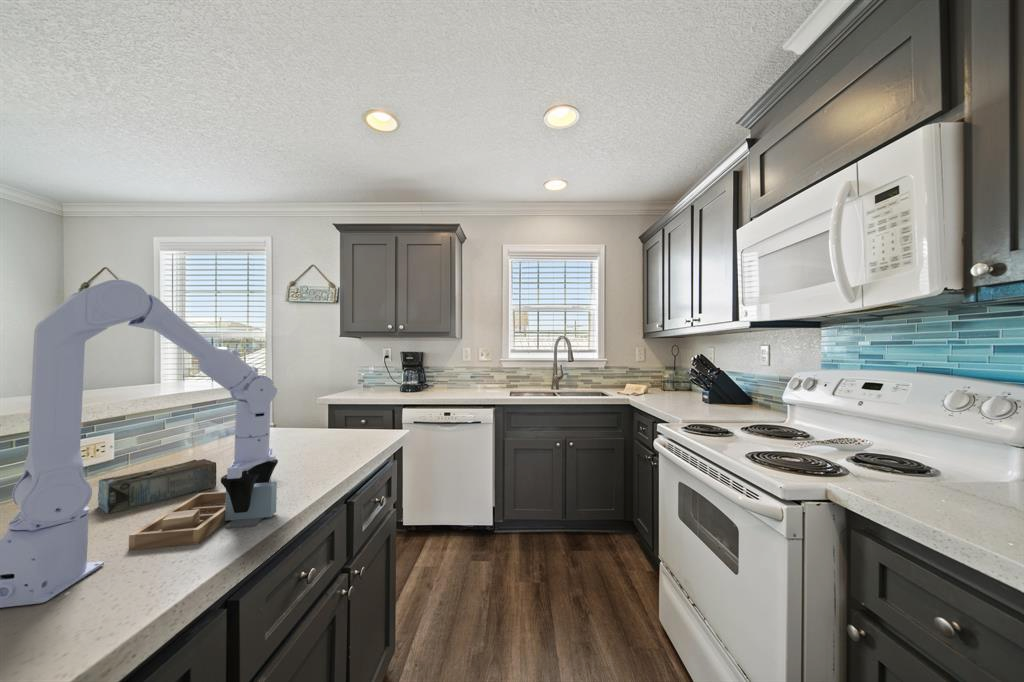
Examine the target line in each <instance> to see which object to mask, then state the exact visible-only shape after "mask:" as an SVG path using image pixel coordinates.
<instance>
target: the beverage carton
mask: <svg viewBox="0 0 1024 682" xmlns="http://www.w3.org/2000/svg"><path fill="white" fill-rule="evenodd" d="M215 487H217V462H216V461H212V460H210V459H209V460H208V459H205V458H203V459H193V460H188V461H186V462H182V463H177V464H174V465H169V466H163V467H158V468H154V469H149V470H144V471H139V472H134V473H130V474H125V475H119V476H112V477H108V478H101V479H99V480H98V491H97V503H98V505H97V507H98V508H99V507H100V509H101V510H102V511H104V513H106V514H108V515H109V514H112V513H116V512H117V513H118V512H121V511H125V510H129V509H134V508H138V507H142V506H146V505H150V504H154V503H157V502H161V501H165V500H170V499H173V498H177V497H181V496H185V495H189V494H192V493H197V492H200V491H206V490H208V489H209V490H210V489H213V488H215Z"/></svg>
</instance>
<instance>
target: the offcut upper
mask: <svg viewBox="0 0 1024 682" xmlns="http://www.w3.org/2000/svg"><path fill="white" fill-rule="evenodd" d="M200 515H201V513H200V509H196V510H188V511H179V512H171V513H170V514H169V515H168V516H166V517H165V518H164V519H163V520H162V531H164V530H176V529H187V528H192V527H193V526H194V525H195V524H196V523H197V522H198V521H199V520H200Z"/></svg>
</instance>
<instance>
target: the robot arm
mask: <svg viewBox="0 0 1024 682" xmlns="http://www.w3.org/2000/svg"><path fill="white" fill-rule="evenodd" d="M127 322H129V323H128V324H127V325H128V327H130V326H131V327H133V328H134V327H136V328H140V329H141V328H142V329H146V330H152V331H155V332H156V333H158V334H160V335H162V337H164V338H166V339H167V340H168V341H170V342H171V343H173V344H174V345H176V346H178V347H179V348H181V350H183V351H185V352H186V353H188V354H189V355H190V356H193V358H195V359H197V361H198V370H199V371H200V372H201V373H203V374H204V375H206V376H207V377H209V378H210V379H211V380H213V381H214V382H215V383H217V384H218V385H220V386H221V387H222V388H224V389H225V390H227V391H228V392H229V393H230V396H231V398H232V399H233V400H236V401H235V406H236V407H235V422H234V423H235V426H234V427H235V429H234V431H235V432H234V455H233V457H234V458H233V459H232V462H231V465H230V466H229V467H227V473H226V474H225V475H223V476H222V477H220V483H221V485H222V486H223V487H224V489H225V491H226V490H227V492H228V494H229V496H230V499H231V503H232V506H233V510H234V513H244V512H247V511H248V510H249V507H250V502H251V495H252V490H253V487H254V484H255V483H268V482H271V481H270V480H271V478H272V475H273V472H274V470H275V468H276V467H277V464H278V461H279V460H278V459H277V458H276V455H275V454H273V448H270V435H271V434H270V433H271V432H270V431H271V402H272V401H273V400H274V399H275V397H276V395H277V392H278V388H276V387H275V386H276V385H275V383H274V381H273V380H272V379H271V378H270V377H269V376H266V375H262V374H261V375H260V374H258V372H259V370H260V369H258V367H256V366H251V365H249V364H248V363H247V362H246V361H245V360H243V359H242V358H241V357H240V356H239V355H241V354H240V352H239V351H237V350H236V349H235V348H234V349H233V348H232V349H229V348H228V347H227V346H221V347H215V345H213V344H211V343H210V342H209V341H208V340H207V339H206V338H205V337H204V336H202V335H201V334H200V333H199V332H198V331H196V330H195V329H194V328H193V327H192V326H190V325H189V324H188V322H186V321H185V320H183V319H182V317H180V316H179V315H178V314H176V313H175V312H174V311H173V310H172V309H171V308H170V307H168V306H167V305H166V303H164V302H163V301H162V300H161V299H159V298H158V297H156V296H155V295H153V294H150V293H148V292H146V290H145V289H144V288H143V287H142V286H140V284H137V283H135V282H133V281H130V280H126V279H117V278H116V279H109V280H106V281H102V282H100V283H98V284H95V285H92V286H89V287H87V288H85V289H83V290H80V291H78V292H74V293H73V294H71V295H69V296H68V297H67V299H65V300H64V301H63V302H62V303H61V304H60V305H58V306H56V308H54V309H53V310H52V311H51V312H50V313H49V314H48V315H46V316H45V317H44V318H42V319H41V320H40V321H39V322H38V323H37V324H36V325H35V328H34V331H33V348H32V349H33V352H32V370H31V371H32V373H31V392H30V393H31V394H30V412H29V413H30V415H29V428H28V429H29V430H28V431H29V434H28V450H27V452H28V453H27V454H26V455H27V456H26V458H25V460H24V468H23V474H22V476H21V477H20V479H18V481H17V483H16V484H15V485H14V487H13V489H12V491H11V493H12V494H11V498H12V501H13V502H14V504H15V505H16V506H17V507H18V508H19V512H18V513H17V514H16V515H15V516H14V518H12V520H10V521H9V523H8V529H7V531H6V533H5V534H4V535H3V536H2V537H1V538H0V609H1V608H10V607H17V606H19V607H20V606H27V605H36V604H37V605H38V604H42V603H45V602H48V601H49V600H51V599H52V598H54V597H56V596H57V595H59V594H60V593H62V592H63V591H65V590H66V589H68V588H70V587H71V586H73V585H75V584H76V583H77V582H79V581H81V580H82V579H83V578H85V577H86V576H88V575H90V574H91V573H93V572H95V571H96V570H98V569H99V568H100V567H102V566H104V564H105V561H104V560H102V561H101V560H100V561H92V562H90V561H89V562H88V546H89V545H88V542H89V541H88V539H89V519H90V518H89V517H90V512H89V511H90V507H89V506H88V504H89V503H90V501H91V500H92V497H93V496H92V495H93V488H92V486H91V484H90V482H89V481H87V479H86V478H85V476H84V463H83V457H82V451H81V439H82V437H81V436H82V435H81V434H82V419H83V418H82V417H83V416H82V415H83V414H82V413H83V411H82V410H83V396H84V395H83V392H84V389H83V388H84V372H85V371H84V369H85V368H84V367H85V347H86V342H87V341H88V340H89V339H92V338H93V337H95V336H96V335H98V334H100V333H102V332H103V331H106V330H107V329H108V328H110V327H113V326H117V325H120V324H124V323H127ZM247 471H248V474H247Z"/></svg>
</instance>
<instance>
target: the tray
mask: <svg viewBox="0 0 1024 682" xmlns="http://www.w3.org/2000/svg"><path fill="white" fill-rule="evenodd" d="M225 500H226V491H214V492H201V493H200V492H199V493H198V494H195V495H194V496H193V497H190V498H189V499H187V500H186V501H184V502H182V503H181V504H179V505H178V506H176V507H174V508H172V509H171V510H169V511H167V512H165V513H164V514H162V515H161V516H159V517H157V518H156V519H153V520H152V521H150V522H148V523H147V524H146V525H143V526H142V527H141V528H139V529H137V530H135V531H134V532H133V533H130V534H129V535H128V551H133V550H143V549H144V550H146V549H154V548H166V547H177V546H186V545H187V546H188V545H198V544H200V543H201V542H202V541H203V540H205V539H206V538H207V537H208V536H210V535H211V534H213V532H215V531H216V530H217V529H218V528H220V527H221V526H223V524H224V523H226V522H227V521H228V520H226V521H225ZM196 509H200V520H203V523H202V524H201V525H199V526H198V527H197V528H188V529H176V530H164V531H159V530H161V529H162V520H163V519H164V518H165V517H166V516H168V515H169V514H170V513H171V512H179V511H188V510H196Z"/></svg>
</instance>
